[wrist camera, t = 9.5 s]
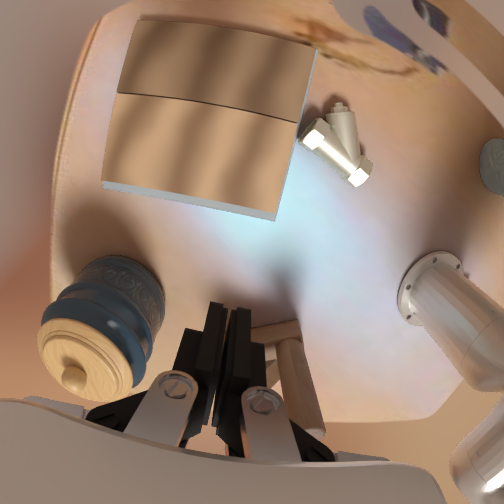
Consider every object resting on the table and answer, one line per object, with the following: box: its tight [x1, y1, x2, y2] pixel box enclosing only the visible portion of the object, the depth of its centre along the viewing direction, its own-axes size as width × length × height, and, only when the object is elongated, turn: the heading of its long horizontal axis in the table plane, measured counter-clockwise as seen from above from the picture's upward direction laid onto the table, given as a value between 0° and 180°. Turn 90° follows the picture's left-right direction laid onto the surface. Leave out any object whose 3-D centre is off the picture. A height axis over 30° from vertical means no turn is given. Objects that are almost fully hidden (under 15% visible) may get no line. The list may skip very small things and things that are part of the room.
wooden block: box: [223, 320, 326, 441], centre depth 33 cm, size 4×11×18 cm, turn 102°
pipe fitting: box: [298, 102, 373, 187], centre depth 30 cm, size 8×4×7 cm
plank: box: [101, 93, 298, 213], centre depth 30 cm, size 20×10×2 cm, turn 77°
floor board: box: [117, 20, 316, 123], centre depth 27 cm, size 20×9×2 cm, turn 77°
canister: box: [37, 255, 165, 402], centre depth 30 cm, size 13×13×18 cm
